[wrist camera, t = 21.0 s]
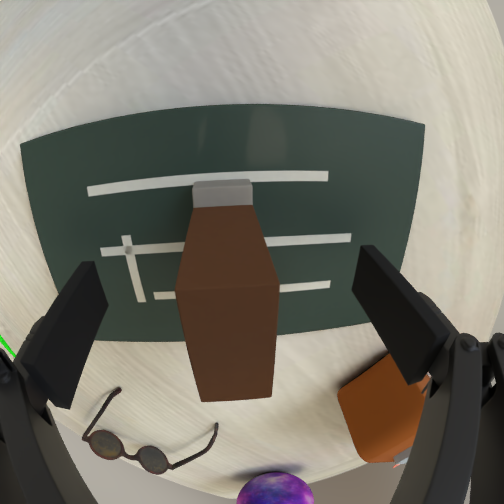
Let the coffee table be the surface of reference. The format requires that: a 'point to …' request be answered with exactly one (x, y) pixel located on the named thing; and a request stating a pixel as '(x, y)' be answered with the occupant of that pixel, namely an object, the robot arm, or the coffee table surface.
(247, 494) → the decorative orb
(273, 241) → the chalkboard
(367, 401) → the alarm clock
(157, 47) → the coffee table surface
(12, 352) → the leaf
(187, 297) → the eraser
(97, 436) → the eyeglasses
